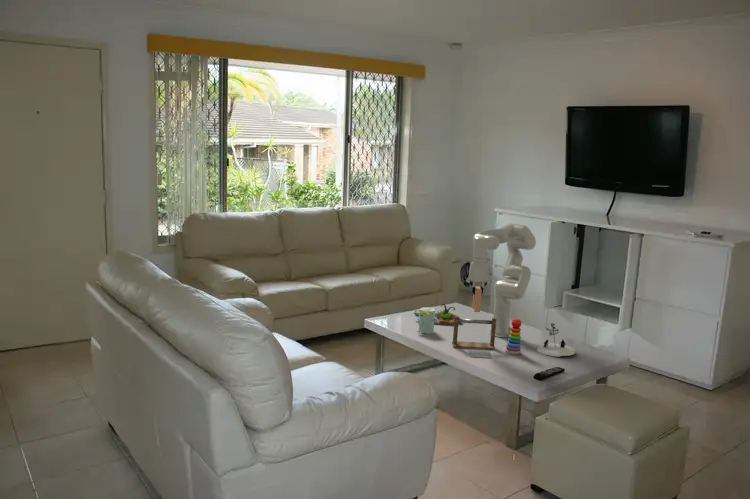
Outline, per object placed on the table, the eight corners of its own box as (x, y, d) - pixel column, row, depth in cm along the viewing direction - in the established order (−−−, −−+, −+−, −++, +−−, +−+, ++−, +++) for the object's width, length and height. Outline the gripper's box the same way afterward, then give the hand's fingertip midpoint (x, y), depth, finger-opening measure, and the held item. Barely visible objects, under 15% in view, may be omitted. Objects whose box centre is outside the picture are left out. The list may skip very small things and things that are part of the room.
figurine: (578, 349, 343) (578, 320, 341) (570, 359, 327) (570, 328, 325) (541, 345, 353) (541, 317, 351) (532, 355, 337) (531, 325, 335)
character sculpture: (405, 329, 368) (406, 306, 365) (418, 326, 375) (420, 304, 373) (430, 338, 353) (432, 314, 351) (444, 334, 361) (445, 311, 359)
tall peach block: (478, 308, 343) (479, 286, 341) (480, 312, 335) (481, 290, 333) (472, 307, 343) (474, 286, 341) (474, 312, 335) (476, 289, 333)
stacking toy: (511, 356, 330) (515, 321, 327) (502, 351, 337) (505, 317, 334) (523, 354, 333) (526, 319, 330) (513, 349, 340) (516, 315, 337)
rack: (492, 345, 346) (494, 316, 343) (494, 350, 338) (497, 320, 335) (452, 343, 346) (454, 314, 344) (453, 347, 338) (455, 318, 336)
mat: (489, 351, 336) (489, 350, 336) (492, 358, 325) (492, 357, 325) (468, 350, 336) (468, 349, 336) (470, 357, 325) (470, 356, 325)
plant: (425, 316, 398) (426, 299, 396) (456, 317, 400) (457, 299, 398) (431, 326, 378) (433, 307, 376) (464, 326, 380) (465, 308, 378)
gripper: (494, 259, 338) (491, 293, 341) (463, 258, 338) (461, 291, 341) (496, 262, 330) (494, 296, 334) (465, 260, 331) (462, 295, 334)
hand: (477, 293), depth 337 cm, fingers closed on tall peach block, 3 cm apart
